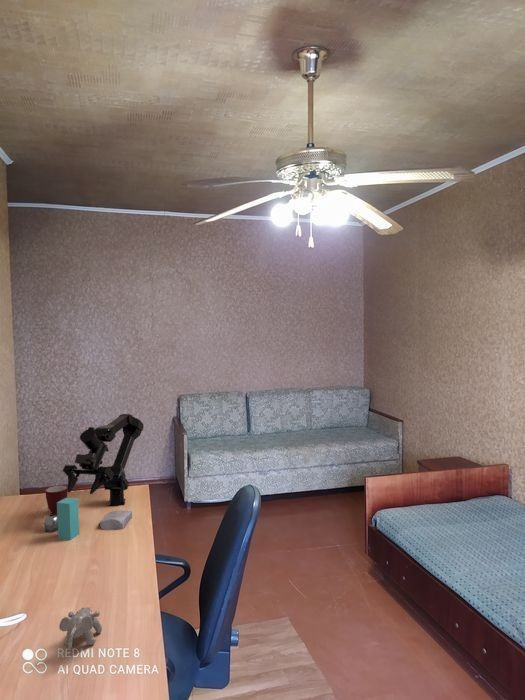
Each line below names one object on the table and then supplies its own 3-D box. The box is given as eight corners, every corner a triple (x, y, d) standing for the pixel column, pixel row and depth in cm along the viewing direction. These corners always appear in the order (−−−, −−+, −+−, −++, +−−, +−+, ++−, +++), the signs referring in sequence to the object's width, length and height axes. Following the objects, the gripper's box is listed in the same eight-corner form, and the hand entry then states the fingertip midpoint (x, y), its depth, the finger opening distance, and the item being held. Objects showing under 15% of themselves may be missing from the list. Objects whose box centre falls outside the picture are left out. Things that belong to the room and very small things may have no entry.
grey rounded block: (46, 528, 184) (45, 514, 184) (60, 526, 185) (59, 513, 185) (43, 533, 179) (42, 519, 179) (58, 531, 181) (57, 518, 180)
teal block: (67, 533, 179) (65, 497, 179) (79, 534, 178) (77, 498, 177) (58, 538, 174) (56, 502, 174) (70, 540, 173) (69, 503, 173)
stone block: (99, 535, 182) (125, 529, 181) (96, 522, 182) (122, 516, 181) (109, 523, 194) (134, 518, 193) (107, 511, 194) (132, 506, 193)
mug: (46, 509, 203) (45, 485, 202) (67, 506, 206) (66, 482, 206) (46, 518, 193) (45, 493, 193) (68, 515, 196) (67, 490, 196)
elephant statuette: (101, 627, 123) (100, 596, 123) (104, 654, 112) (102, 620, 112) (61, 636, 120) (60, 605, 120) (59, 665, 109) (58, 630, 108)
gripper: (64, 443, 189) (46, 481, 179) (108, 445, 185) (92, 484, 175) (77, 458, 197) (61, 495, 187) (119, 460, 193) (105, 498, 183)
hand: (79, 493), depth 183 cm, fingers open, 9 cm apart
